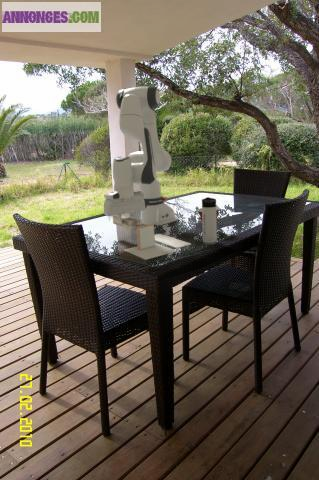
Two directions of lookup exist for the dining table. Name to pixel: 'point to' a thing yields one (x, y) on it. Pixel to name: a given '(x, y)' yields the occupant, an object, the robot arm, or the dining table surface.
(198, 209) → the plastic cup
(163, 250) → the mat
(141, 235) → the tile
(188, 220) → the dining table surface
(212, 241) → the travel mug
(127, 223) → the beige rectangular bar
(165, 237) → the board
